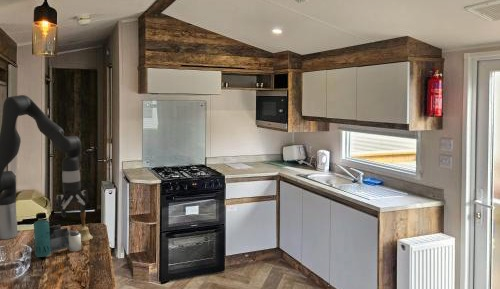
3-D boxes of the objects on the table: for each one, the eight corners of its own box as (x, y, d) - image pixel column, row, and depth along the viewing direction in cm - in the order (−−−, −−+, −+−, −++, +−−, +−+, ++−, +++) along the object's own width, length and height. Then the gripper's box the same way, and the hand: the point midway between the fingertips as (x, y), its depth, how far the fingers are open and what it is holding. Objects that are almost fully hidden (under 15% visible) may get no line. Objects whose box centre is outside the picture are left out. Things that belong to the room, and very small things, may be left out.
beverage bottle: (33, 261, 185) (30, 215, 183) (36, 255, 192) (34, 211, 189) (50, 259, 187) (47, 214, 185) (52, 254, 193) (50, 210, 191)
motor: (40, 255, 192) (38, 234, 191) (32, 251, 197) (31, 231, 196) (76, 245, 204) (75, 226, 203) (68, 241, 210) (67, 222, 208)
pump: (67, 249, 199) (66, 231, 198) (77, 246, 203) (77, 229, 202) (72, 252, 195) (71, 234, 194) (83, 249, 199) (82, 231, 198)
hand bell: (94, 239, 212) (93, 208, 211) (76, 242, 208) (75, 210, 206) (90, 234, 219) (89, 204, 218) (73, 237, 215) (72, 206, 213)
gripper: (82, 176, 203) (84, 210, 205) (51, 181, 192) (54, 216, 194) (90, 178, 198) (92, 213, 200) (59, 183, 187) (61, 219, 189)
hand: (73, 214), depth 197 cm, fingers open, 8 cm apart
